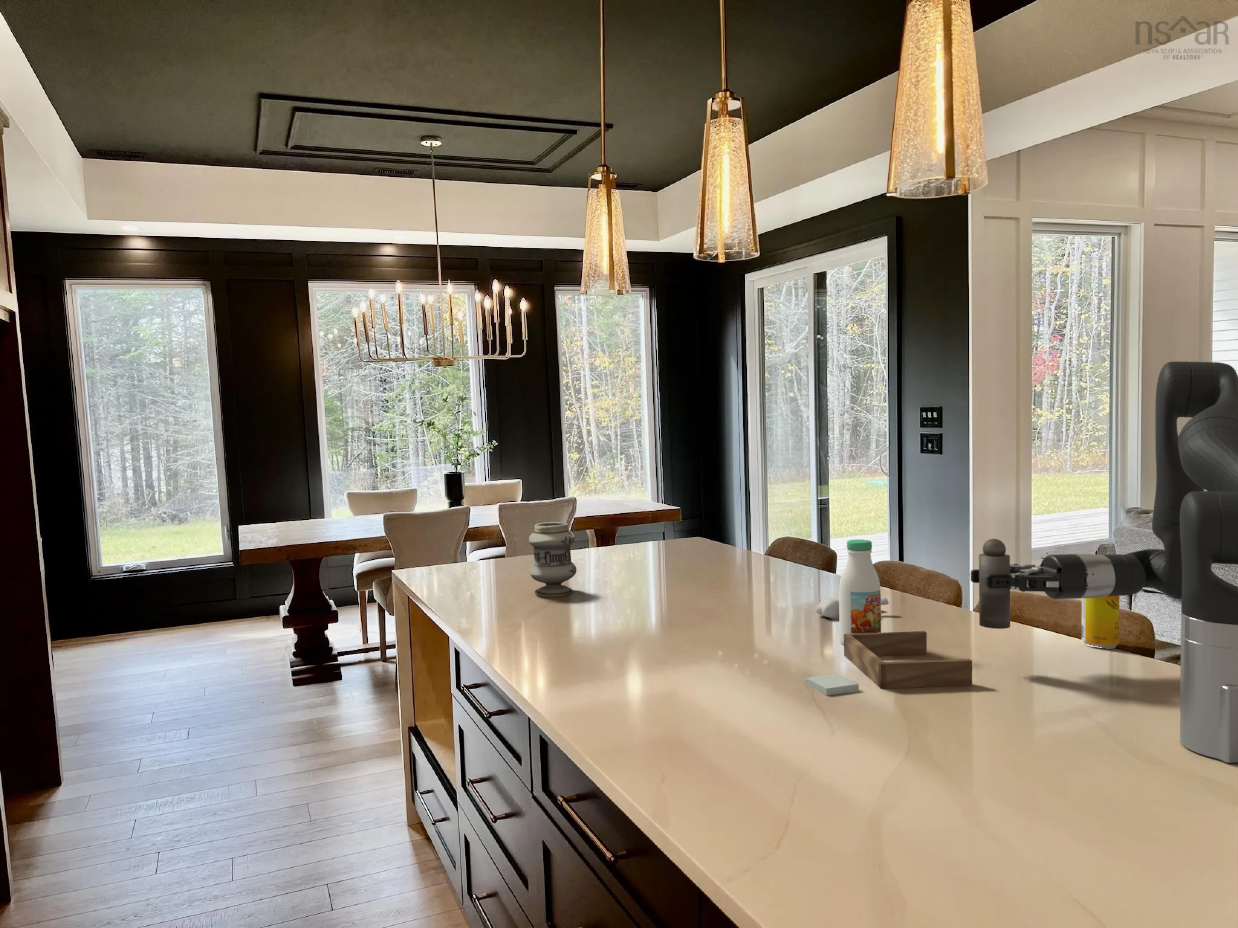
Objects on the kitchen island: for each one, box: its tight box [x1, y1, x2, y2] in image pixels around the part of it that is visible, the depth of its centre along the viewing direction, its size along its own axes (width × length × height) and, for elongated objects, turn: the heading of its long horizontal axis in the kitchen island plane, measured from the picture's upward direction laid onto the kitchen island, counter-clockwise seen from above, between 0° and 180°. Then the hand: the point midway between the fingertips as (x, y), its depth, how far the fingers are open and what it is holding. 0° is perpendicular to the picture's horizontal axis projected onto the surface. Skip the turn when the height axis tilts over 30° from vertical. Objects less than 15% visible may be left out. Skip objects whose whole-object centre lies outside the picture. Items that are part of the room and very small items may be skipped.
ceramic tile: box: [805, 673, 860, 696], centre depth 136 cm, size 6×6×2 cm
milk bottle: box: [838, 538, 882, 646], centre depth 161 cm, size 8×8×20 cm
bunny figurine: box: [815, 594, 890, 620], centre depth 185 cm, size 10×5×15 cm
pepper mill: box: [978, 538, 1011, 630], centre depth 143 cm, size 5×5×15 cm
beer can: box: [1081, 596, 1120, 650], centre depth 156 cm, size 6×6×15 cm
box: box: [843, 630, 973, 689], centre depth 145 cm, size 19×15×4 cm
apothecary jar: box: [528, 521, 577, 597], centre depth 217 cm, size 12×12×18 cm
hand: (979, 578), depth 143 cm, fingers closed on pepper mill, 4 cm apart
